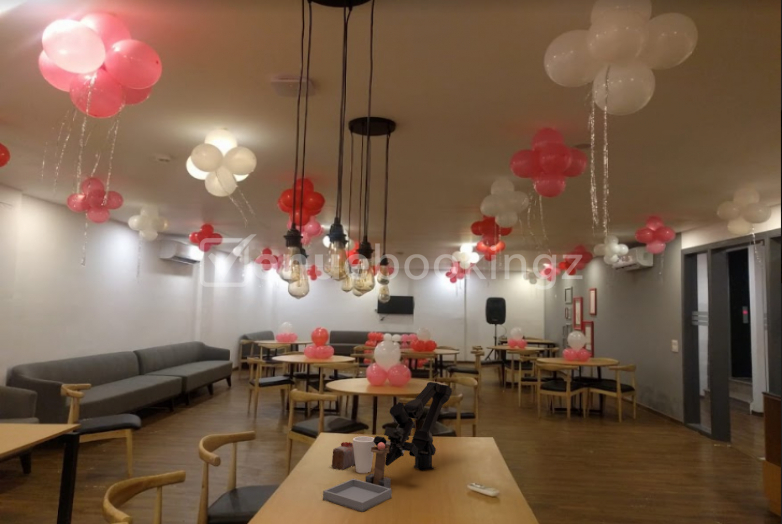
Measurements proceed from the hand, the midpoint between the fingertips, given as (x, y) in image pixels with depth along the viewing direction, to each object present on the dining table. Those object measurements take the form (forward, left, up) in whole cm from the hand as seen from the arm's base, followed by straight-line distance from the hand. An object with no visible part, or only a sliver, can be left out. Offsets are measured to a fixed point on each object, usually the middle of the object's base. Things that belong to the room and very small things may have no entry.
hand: (386, 465), depth 206 cm
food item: (+3, -30, -8) cm, 31 cm away
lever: (+6, +3, -7) cm, 9 cm away
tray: (+16, +7, -8) cm, 19 cm away
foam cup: (0, -20, -8) cm, 21 cm away
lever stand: (+5, +2, -8) cm, 9 cm away
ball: (+3, +1, +8) cm, 9 cm away
